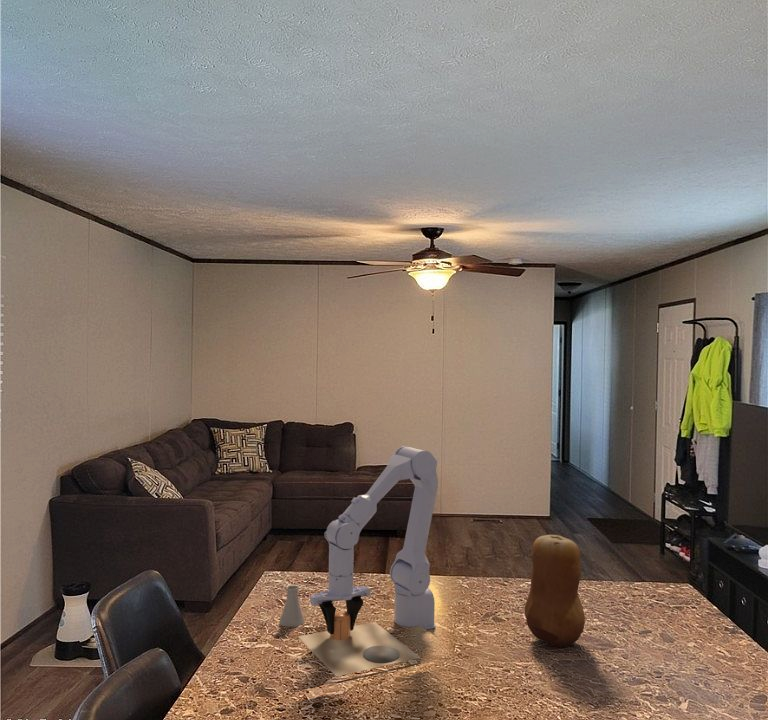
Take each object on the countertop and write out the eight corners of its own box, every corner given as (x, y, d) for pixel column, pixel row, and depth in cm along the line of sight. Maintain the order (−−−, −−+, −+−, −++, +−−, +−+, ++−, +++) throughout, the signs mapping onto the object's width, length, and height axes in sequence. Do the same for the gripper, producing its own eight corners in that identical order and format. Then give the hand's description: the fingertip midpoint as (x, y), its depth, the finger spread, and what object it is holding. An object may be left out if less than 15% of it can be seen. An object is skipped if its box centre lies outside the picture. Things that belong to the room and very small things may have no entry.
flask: (301, 635, 170) (302, 593, 170) (272, 632, 171) (273, 590, 171) (310, 623, 177) (311, 583, 177) (283, 620, 178) (283, 581, 178)
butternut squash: (588, 637, 171) (590, 533, 170) (579, 660, 158) (581, 548, 158) (531, 627, 176) (533, 526, 176) (517, 648, 164) (519, 540, 164)
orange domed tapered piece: (344, 630, 169) (345, 610, 169) (352, 637, 165) (353, 616, 165) (327, 634, 167) (328, 613, 167) (335, 641, 163) (335, 619, 163)
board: (374, 627, 175) (374, 605, 175) (420, 664, 155) (420, 639, 155) (297, 642, 165) (297, 619, 165) (336, 683, 146) (336, 657, 146)
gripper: (318, 582, 159) (318, 643, 159) (376, 573, 165) (375, 631, 166) (307, 573, 165) (306, 631, 165) (363, 565, 172) (362, 620, 172)
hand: (340, 630), depth 166 cm, fingers closed on orange domed tapered piece, 4 cm apart
